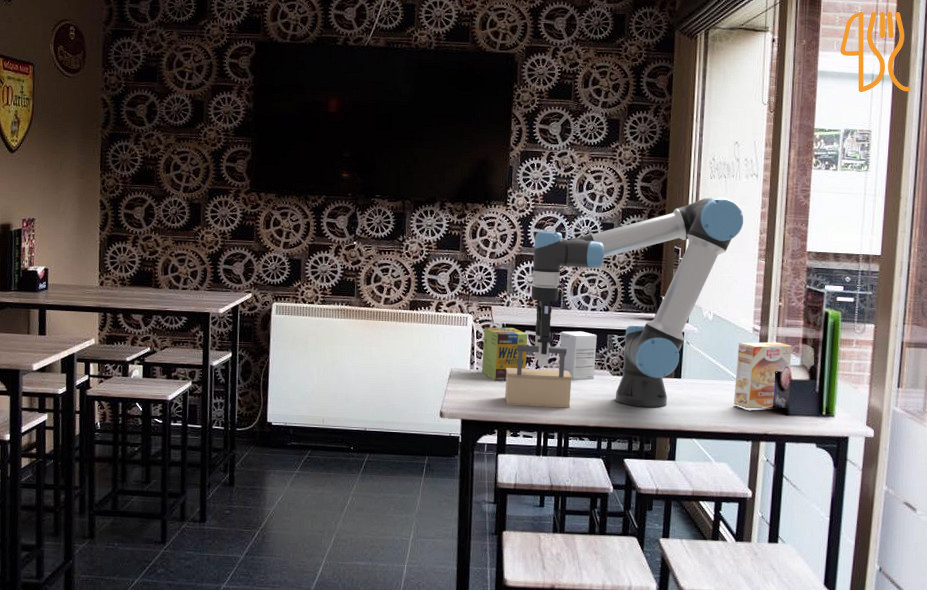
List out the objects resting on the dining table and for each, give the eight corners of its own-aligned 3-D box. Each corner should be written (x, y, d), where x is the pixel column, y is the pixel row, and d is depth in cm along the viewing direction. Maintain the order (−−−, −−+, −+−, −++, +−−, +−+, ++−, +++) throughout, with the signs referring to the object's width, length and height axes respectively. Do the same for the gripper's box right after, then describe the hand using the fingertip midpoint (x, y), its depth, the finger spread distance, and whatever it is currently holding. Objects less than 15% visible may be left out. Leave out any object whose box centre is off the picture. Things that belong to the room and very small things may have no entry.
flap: (567, 373, 291) (569, 342, 290) (572, 380, 279) (574, 348, 279) (506, 370, 291) (507, 339, 290) (507, 377, 279) (509, 345, 278)
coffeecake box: (748, 411, 289) (754, 346, 287) (732, 406, 295) (737, 342, 293) (787, 409, 295) (792, 345, 293) (770, 404, 302) (775, 341, 300)
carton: (565, 400, 292) (567, 373, 291) (569, 407, 282) (571, 379, 281) (505, 397, 291) (506, 370, 291) (506, 404, 282) (508, 376, 281)
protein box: (494, 381, 318) (497, 333, 316) (481, 372, 332) (483, 326, 331) (525, 381, 320) (528, 333, 319) (510, 372, 335) (513, 327, 334)
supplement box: (557, 375, 334) (560, 331, 333) (579, 373, 339) (581, 331, 337) (572, 379, 326) (575, 335, 325) (594, 378, 331) (597, 334, 329)
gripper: (529, 282, 290) (524, 354, 292) (535, 289, 266) (530, 368, 268) (554, 283, 290) (550, 355, 292) (563, 291, 266) (558, 369, 268)
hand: (540, 361), depth 280 cm, fingers open, 12 cm apart
